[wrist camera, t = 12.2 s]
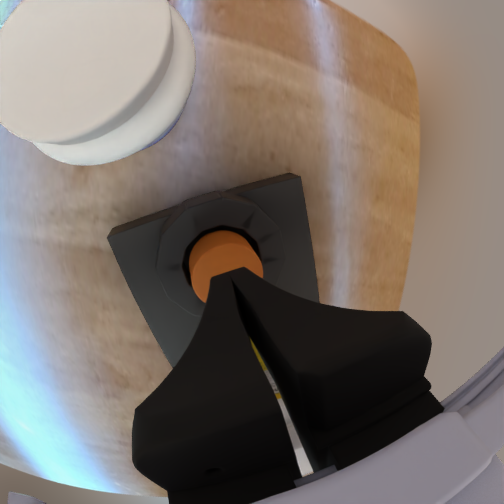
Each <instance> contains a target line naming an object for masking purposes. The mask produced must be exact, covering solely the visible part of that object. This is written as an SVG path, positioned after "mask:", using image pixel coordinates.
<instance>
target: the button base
mask: <svg viewBox="0 0 504 504" xmlns="http://www.w3.org/2000/svg"><path fill="white" fill-rule="evenodd" d="M221 230H226V231H232V232H235V233H237V234H239V235H241V236H242V237H244V238H245V239H246V240H247V241H248V243H249V244H250V246H251V247H252V249H253V250H254V252H255V253H256V254H257V256H258V257H259V259H260V261H261V263H262V267H263V279H264V280H266V281H268V282H269V283H271V284H273V285H275V286H277V287H278V288H280V289H282V290H284V291H287V292H289V293H291V294H294V295H296V296H299V297H302V298H305V299H308V300H311V301H314V302H318V303H320V302H319V294H318V285H317V278H316V270H315V263H314V256H313V249H312V242H311V235H310V229H309V223H308V216H307V210H306V204H305V198H304V193H303V187H302V182H301V177H300V176H298V175H295V174H292V173H287V174H283V175H279V176H276V177H272V178H268V179H264V180H261V181H257V182H253V183H250V184H246V185H243V186H239V187H236V188H232V189H229V190H226V191H214V192H210V193H207V194H204V195H201V196H197V197H194V198H191V199H188V200H186V201H184V202H183V203H182V204H181V205H178V206H175V207H172V208H169V209H166V210H163V211H160V212H157V213H154V214H151V215H148V216H145V217H142V218H139V219H137V220H134V221H131V222H128V223H126V224H123V225H120V226H117V227H115V228H112V230H111V232H110V233H109V235H108V237H107V239H108V241H109V243H110V246H111V248H112V250H113V253H114V255H115V257H116V260H117V262H118V264H119V266H120V269H121V271H122V273H123V275H124V277H125V279H126V282H127V284H128V286H129V288H130V290H131V292H132V294H133V296H134V298H135V300H136V302H137V304H138V306H139V308H140V310H141V312H142V314H143V316H144V318H145V320H146V322H147V323H148V325H149V327H150V329H151V331H152V333H153V335H154V336H155V338H156V340H157V342H158V344H159V345H160V347H161V349H162V351H163V352H164V354H165V356H166V357H167V359H168V361H169V362H170V364H171V366H172V367H173V368H174V367H175V366H176V364H177V363H178V361H179V360H180V358H181V357H182V355H183V354H184V352H185V350H186V349H187V347H188V345H189V343H190V341H191V339H192V338H193V336H194V333H195V331H196V329H197V327H198V324H199V321H200V319H201V316H202V313H203V310H204V307H205V304H206V303H205V302H203V301H202V300H201V299H200V298H199V297H198V296H197V295H196V293H195V291H194V289H193V286H192V281H191V274H190V267H189V257H190V253H191V251H192V249H193V247H194V245H195V244H196V243H197V242H198V241H199V240H200V239H201V238H202V237H204V236H205V235H207V234H209V233H211V232H215V231H221Z"/></svg>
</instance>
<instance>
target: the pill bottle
mask: <svg viewBox="0 0 504 504" xmlns="http://www.w3.org/2000/svg"><path fill="white" fill-rule="evenodd" d="M195 67H196V53H195V46H194V41H193V37H192V35H191V32H190V29H189V27H188V26H187V24H186V22H185V21H184V19H183V18H182V16H181V15H180V14H179V12H178V11H177V10H176V9H175V8H174V7H172V6H171V5H170V4H169V2H168V0H22V1H21V2H20V4H19V5H18V6H17V7H16V8H15V9H14V11H13V12H12V13H11V14H10V16H9V17H8V19H7V20H6V22H5V23H4V25H3V26H2V28H1V30H0V123H1V124H2V125H3V126H4V127H5V128H6V129H7V130H8V131H9V132H11V133H12V134H14V135H16V136H18V137H19V138H22V139H24V140H27V141H31V142H32V143H33V144H34V145H35V146H36V147H37V148H38V149H39V150H40V151H42V152H43V153H45V154H46V155H48V156H49V157H51V158H53V159H55V160H58V161H61V162H64V163H68V164H73V165H84V166H87V165H100V164H105V163H109V162H113V161H116V160H119V159H123V158H125V157H128V156H130V155H132V154H134V153H136V152H138V151H140V150H143V149H145V148H147V147H150V146H152V145H153V144H155V143H157V142H158V141H159V140H161V139H162V138H163V137H164V136H166V135H167V134H168V133H169V132H170V130H171V129H172V128H173V127H174V126H175V124H176V122H177V121H178V119H179V117H180V115H181V113H182V111H183V109H184V106H185V104H186V102H187V99H188V96H189V94H190V91H191V87H192V84H193V79H194V74H195Z"/></svg>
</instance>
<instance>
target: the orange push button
mask: <svg viewBox="0 0 504 504" xmlns="http://www.w3.org/2000/svg"><path fill="white" fill-rule="evenodd" d="M243 266H244V267H246V268H248V269H249V270H250V271H252V272H253V273H255V274H256V275H258V276H259V277H261V278H263V267H262V263H261V261H260V259H259V257H258V256H257V254H256V253H255V252H254V250H253V249H252V247H251V246H250V244H249V243H248V241H247V240H246V239H245V238H244V237H242V236H241V235H239V234H237V233H235V232H232V231H226V230H221V231H215V232H211V233H209V234H207V235H205V236H204V237H202V238H201V239H200V240H199V241H198V242H197V243H196V244H195V245H194V247H193V249H192V251H191V253H190V257H189V267H190V274H191V281H192V286H193V289H194V291H195V293H196V295H197V296H198V297H199V298H200V299H201V300H202V301H203V302H205V303H206V300H207V296H208V292H209V286H210V279H211V277H213V276H216V275H219V274H222V273H225V272H228V271H231V270H234V269H237V268H240V267H243Z"/></svg>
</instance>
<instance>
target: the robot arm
mask: <svg viewBox="0 0 504 504" xmlns="http://www.w3.org/2000/svg"><path fill="white" fill-rule="evenodd" d="M250 338H251V340H252V342H253V344H254V345H255V347H256V349H257V351H258V353H259V355H260V357H261V358H262V360H263V362H264V364H265V366H266V368H267V369H268V371H269V373H270V375H271V377H272V378H273V380H274V382H275V384H276V386H277V388H278V391H279V393H280V396H281V398H282V400H283V402H284V405H285V407H286V409H287V412H288V414H289V416H290V419H291V421H292V423H293V426H294V428H295V430H296V433H297V435H298V437H299V440H300V442H301V444H302V447H303V449H304V451H305V453H306V456H307V458H308V460H309V463H310V465H311V467H312V470H313V472H314V473H313V474H310V475H308V476H305V477H302V474H301V471H300V468H299V465H298V462H297V457H296V454H295V451H294V448H293V445H292V441H291V438H290V435H289V432H288V429H287V425H286V422H285V419H284V416H283V413H282V410H281V407H280V404H279V402H278V400H277V398H276V395H275V393H274V391H273V388H272V386H271V384H270V382H269V380H268V378H267V376H266V374H265V372H264V370H263V368H262V366H261V364H260V362H259V360H258V358H257V355H256V353H255V351H254V349H253V347H252V344H251V340H250ZM431 345H432V343H431V338H430V335H429V334H428V333H427V332H426V331H425V330H424V329H423V328H422V327H421V326H420V325H419V324H418V323H417V322H416V321H414V320H413V319H412V318H411V317H410V316H408V315H407V314H406V313H404V312H403V311H364V310H354V309H347V308H340V307H335V306H330V305H326V304H321V303H318V302H314V301H311V300H308V299H305V298H302V297H299V296H296V295H294V294H291V293H289V292H287V291H284V290H282V289H280V288H278V287H277V286H275V285H273V284H271V283H269V282H268V281H266V280H264V279H263V278H261V277H259V276H258V275H256V274H255V273H253V272H252V271H250V270H249V269H248V268H246V267H244V266H243V267H240V268H237V269H234V270H231V271H228V272H225V273H222V274H219V275H216V276H213V277H211V279H210V286H209V292H208V296H207V300H206V304H205V307H204V310H203V313H202V316H201V319H200V321H199V324H198V327H197V329H196V331H195V333H194V336H193V338H192V339H191V341H190V343H189V345H188V347H187V349H186V350H185V352H184V354H183V355H182V357H181V358H180V360H179V361H178V363H177V364H176V366H175V367H174V368H173V370H172V371H171V372H170V373H169V375H168V376H167V377H166V378H165V379H164V381H163V382H162V383H161V384H160V385H159V386H158V387H157V388H156V389H155V390H154V391H153V392H152V393H151V394H150V395H149V396H148V397H147V398H146V399H145V400H144V401H143V402H142V403H141V404H140V405H139V406H138V407H137V408H136V409H135V414H134V420H133V428H132V461H133V464H134V466H135V468H136V469H137V470H138V471H139V472H140V473H141V474H143V475H144V476H145V477H147V478H148V479H150V480H151V481H153V482H154V483H156V484H157V485H159V486H160V487H162V488H164V489H165V490H167V492H168V499H169V504H504V464H503V463H502V462H501V461H500V459H499V458H498V457H497V456H496V452H498V451H499V449H500V448H501V447H502V446H503V445H504V347H503V348H502V349H501V350H500V351H499V352H498V353H497V354H496V355H495V356H494V357H493V358H492V359H491V360H490V361H489V362H488V363H487V364H486V365H485V366H484V367H482V368H481V369H480V370H479V371H478V372H477V373H476V374H475V375H474V376H472V377H471V378H470V379H469V380H468V381H467V382H466V383H464V384H463V385H462V386H461V387H459V388H458V389H457V390H456V391H454V392H453V393H452V394H451V395H449V396H448V397H447V398H445V399H444V400H443V401H441V402H438V400H437V399H436V398H435V397H434V395H432V393H431V392H430V391H429V390H430V389H431V384H430V382H429V381H428V380H427V379H426V378H425V377H424V373H425V370H426V367H427V364H428V360H429V357H430V352H431ZM7 504H46V503H45V502H43V501H41V500H39V499H37V498H35V497H32V496H29V495H25V494H20V493H15V492H9V494H8V503H7Z"/></svg>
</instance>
